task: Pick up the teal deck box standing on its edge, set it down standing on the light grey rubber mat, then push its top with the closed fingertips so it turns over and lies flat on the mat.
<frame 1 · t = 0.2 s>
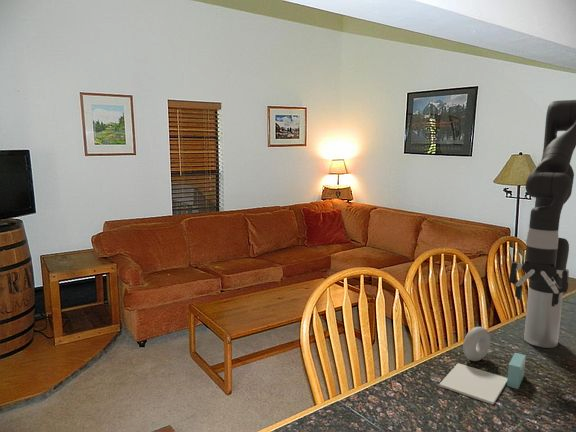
hand: (535, 302, 126), 17 cm above the table, tool pointing down, fingers open, 8 cm apart
deck box: (515, 381, 118), on the table
donut: (475, 361, 129), on the table
mat: (474, 383, 117), on the table
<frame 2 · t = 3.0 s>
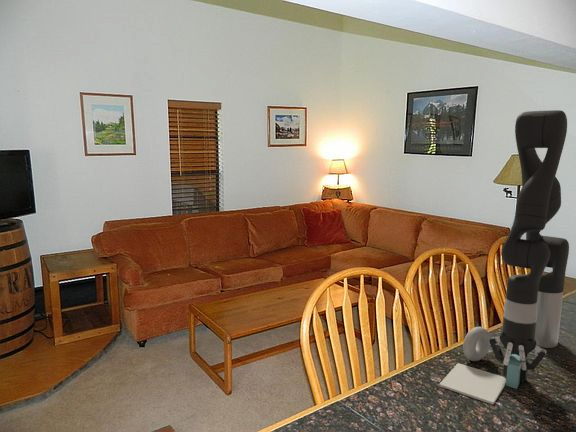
hand: (514, 379, 118), 0 cm above the table, tool pointing down, fingers closed on deck box, 2 cm apart
deck box: (514, 380, 118), on the table, touching gripper, mat
everything else where it was.
when the fingers open (2 cm above the table, at t = 7.3 s): deck box stays where it is, resting on mat.
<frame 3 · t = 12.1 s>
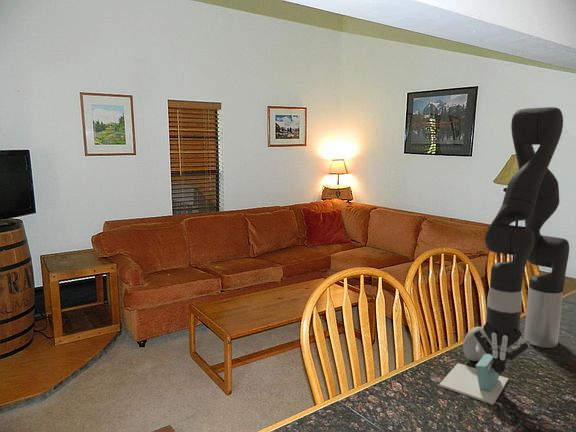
hand: (498, 371, 113), 5 cm above the table, tool pointing down, fingers closed
deck box: (489, 383, 115), point 1 cm above the table, tilted 13°, touching mat
everything else where it was.
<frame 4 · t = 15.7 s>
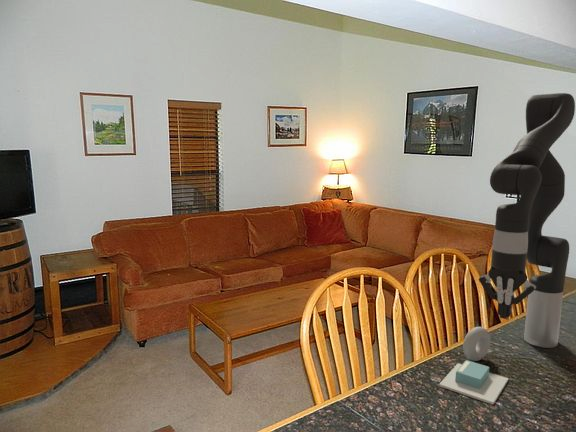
hand: (503, 317, 111), 19 cm above the table, tool pointing down, fingers closed
deck box: (484, 377, 116), point 2 cm above the table, tilted 89°, touching mat
everything else where it was.
at the end: deck box tilted 89°; deck box inside the target area (2.9 cm from its centre), point 1.9 cm above the table; the gripper is holding nothing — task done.
